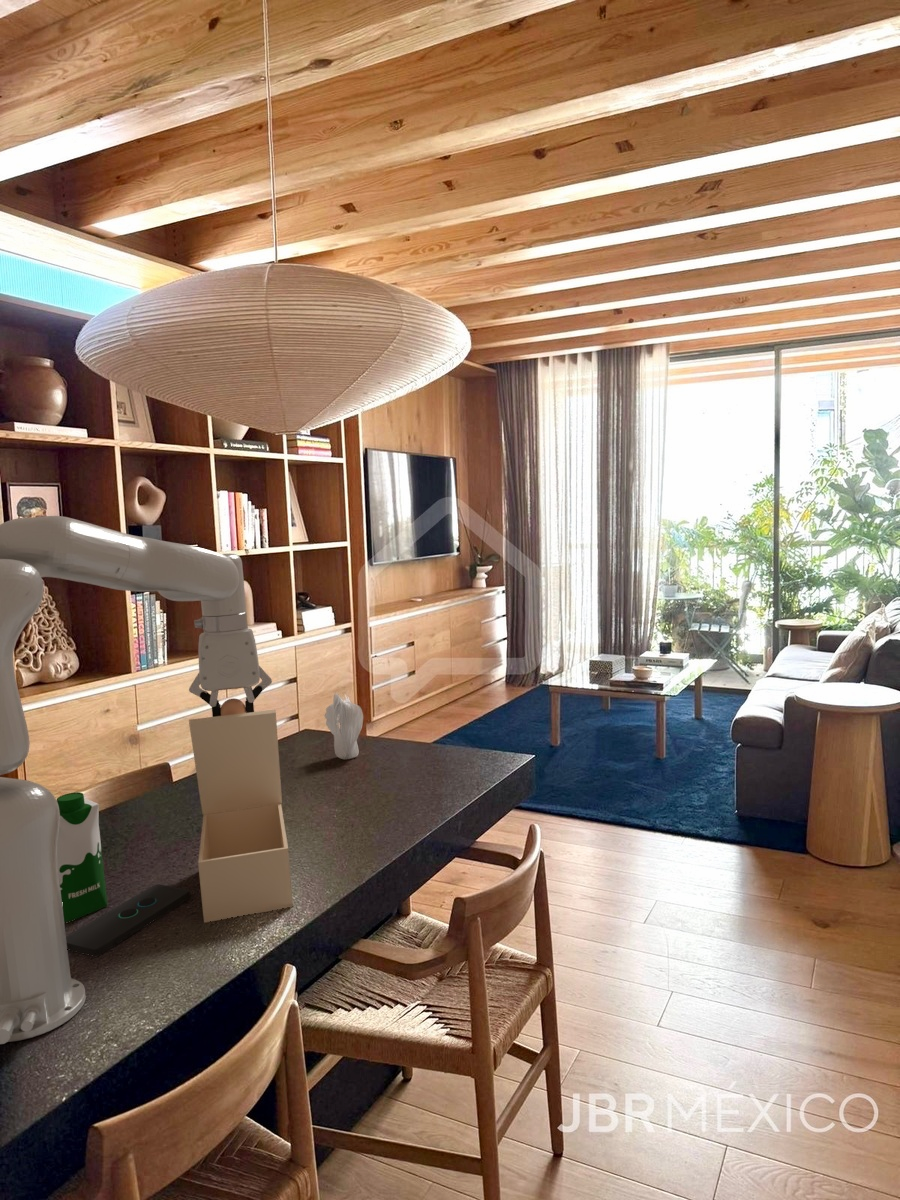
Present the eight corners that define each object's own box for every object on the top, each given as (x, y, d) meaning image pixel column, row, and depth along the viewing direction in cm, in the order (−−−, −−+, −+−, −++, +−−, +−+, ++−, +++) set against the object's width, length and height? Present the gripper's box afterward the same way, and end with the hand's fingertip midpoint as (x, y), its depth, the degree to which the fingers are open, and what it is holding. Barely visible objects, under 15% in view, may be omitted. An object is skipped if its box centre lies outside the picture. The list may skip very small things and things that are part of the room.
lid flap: (275, 712, 140) (272, 688, 145) (189, 722, 136) (189, 697, 142) (282, 802, 152) (279, 777, 158) (202, 814, 149) (202, 787, 154)
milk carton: (63, 927, 130) (49, 807, 128) (38, 912, 135) (24, 797, 133) (115, 905, 136) (103, 791, 134) (89, 892, 142) (76, 782, 140)
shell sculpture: (352, 750, 219) (347, 685, 217) (367, 757, 212) (362, 690, 210) (324, 757, 214) (319, 691, 212) (339, 764, 207) (334, 695, 205)
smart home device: (192, 889, 138) (96, 949, 120) (193, 899, 138) (97, 960, 120) (155, 882, 141) (57, 939, 123) (156, 892, 142) (59, 950, 124)
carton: (293, 906, 132) (288, 848, 131) (204, 922, 129) (198, 862, 127) (285, 854, 153) (281, 803, 152) (208, 866, 150) (203, 814, 149)
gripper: (173, 631, 137) (183, 736, 139) (275, 622, 141) (283, 724, 143) (177, 625, 144) (186, 725, 146) (273, 617, 148) (281, 714, 150)
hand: (234, 724), depth 144 cm, fingers closed on lid flap, 4 cm apart
